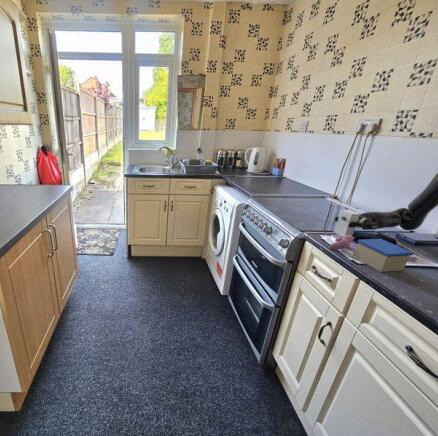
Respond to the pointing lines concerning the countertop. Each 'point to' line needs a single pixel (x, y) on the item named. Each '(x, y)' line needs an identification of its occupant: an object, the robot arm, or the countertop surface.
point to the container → (382, 255)
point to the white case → (346, 222)
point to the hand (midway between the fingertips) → (342, 221)
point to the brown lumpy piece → (342, 242)
